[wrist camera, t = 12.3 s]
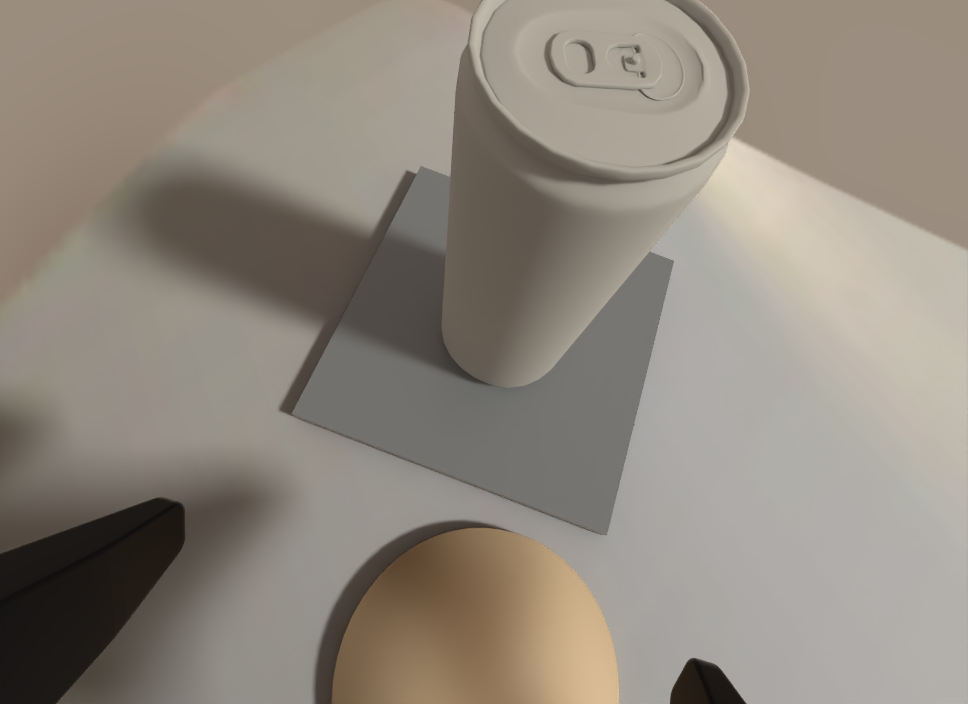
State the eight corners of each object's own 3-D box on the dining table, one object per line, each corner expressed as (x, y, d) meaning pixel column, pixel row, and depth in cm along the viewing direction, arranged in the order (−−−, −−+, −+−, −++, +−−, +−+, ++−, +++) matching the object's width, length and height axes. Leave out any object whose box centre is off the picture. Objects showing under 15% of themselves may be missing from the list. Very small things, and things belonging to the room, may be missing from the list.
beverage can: (566, 391, 18) (792, 187, 7) (441, 393, 18) (463, 173, 6) (555, 280, 20) (723, -36, 8) (440, 278, 19) (455, -63, 8)
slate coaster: (600, 534, 17) (606, 535, 16) (295, 417, 17) (291, 413, 17) (667, 267, 21) (673, 260, 21) (421, 175, 21) (420, 166, 21)
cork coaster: (469, 941, 13) (470, 960, 12) (275, 674, 15) (269, 680, 14) (665, 675, 16) (674, 681, 15) (484, 473, 17) (486, 472, 17)
